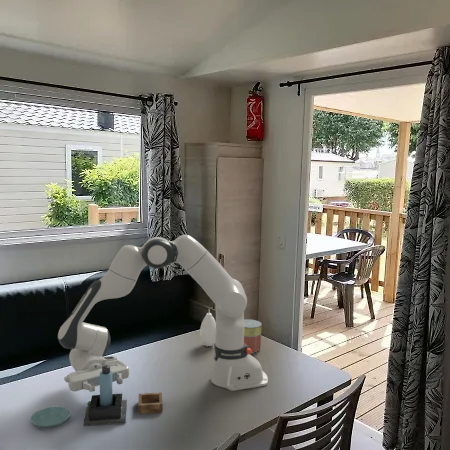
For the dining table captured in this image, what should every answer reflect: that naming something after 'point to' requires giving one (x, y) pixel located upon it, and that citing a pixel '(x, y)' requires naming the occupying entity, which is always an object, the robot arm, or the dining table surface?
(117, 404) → the port
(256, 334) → the canned food
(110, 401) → the blue bottle
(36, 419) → the saucer
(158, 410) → the wooden square frame
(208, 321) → the sauce bottle
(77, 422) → the dining table surface
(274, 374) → the dining table surface
